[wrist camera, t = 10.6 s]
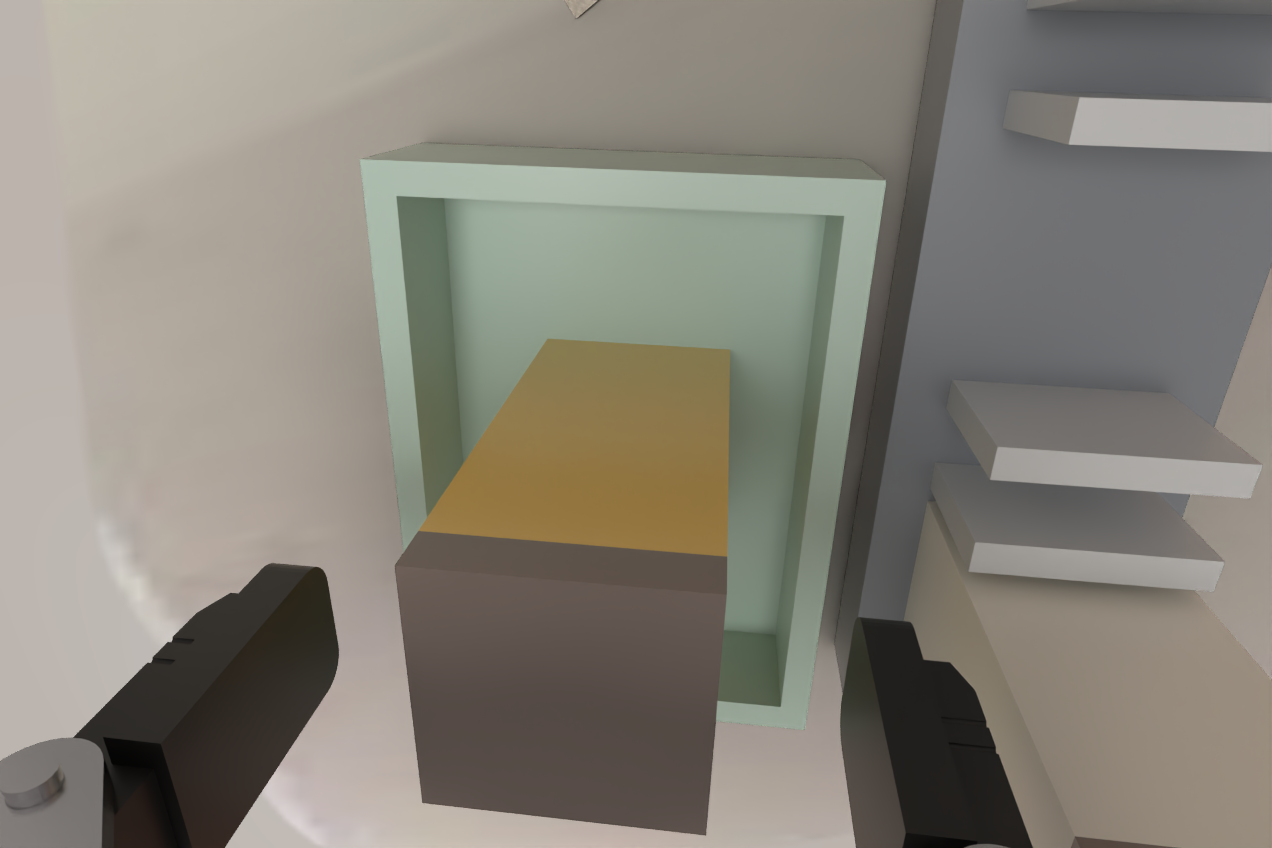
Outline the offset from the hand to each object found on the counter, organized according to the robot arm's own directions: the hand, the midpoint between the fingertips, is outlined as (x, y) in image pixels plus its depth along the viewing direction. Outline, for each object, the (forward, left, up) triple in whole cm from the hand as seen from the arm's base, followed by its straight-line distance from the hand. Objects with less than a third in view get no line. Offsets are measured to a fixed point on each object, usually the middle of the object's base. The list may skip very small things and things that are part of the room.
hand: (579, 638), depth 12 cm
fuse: (0, 0, -7) cm, 7 cm away
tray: (0, 0, -8) cm, 8 cm away
